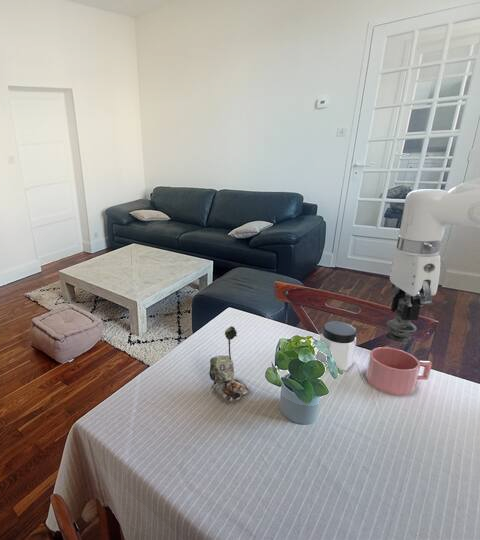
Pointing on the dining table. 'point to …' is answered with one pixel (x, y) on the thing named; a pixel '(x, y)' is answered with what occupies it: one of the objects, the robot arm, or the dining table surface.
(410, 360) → the pink coffee mug
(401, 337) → the grey stone figurine
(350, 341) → the jar
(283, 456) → the dining table surface
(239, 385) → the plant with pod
